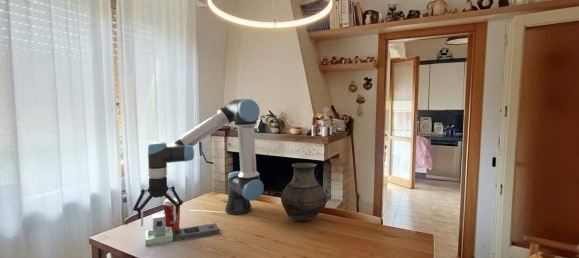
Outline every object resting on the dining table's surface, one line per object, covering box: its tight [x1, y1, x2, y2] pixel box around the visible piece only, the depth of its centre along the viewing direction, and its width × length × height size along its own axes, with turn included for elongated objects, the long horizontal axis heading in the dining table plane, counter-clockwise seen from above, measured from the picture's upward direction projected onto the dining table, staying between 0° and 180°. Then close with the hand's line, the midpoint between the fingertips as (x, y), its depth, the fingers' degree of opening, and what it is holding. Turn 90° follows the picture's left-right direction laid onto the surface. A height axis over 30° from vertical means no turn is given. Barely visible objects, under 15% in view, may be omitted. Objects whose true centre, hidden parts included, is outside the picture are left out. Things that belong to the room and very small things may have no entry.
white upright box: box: [152, 212, 166, 238], centre depth 132 cm, size 5×5×10 cm
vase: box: [280, 162, 328, 222], centre depth 156 cm, size 25×25×30 cm
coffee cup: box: [162, 197, 181, 233], centre depth 142 cm, size 8×8×15 cm
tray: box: [145, 226, 174, 246], centre depth 133 cm, size 11×11×2 cm
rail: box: [172, 222, 220, 242], centre depth 138 cm, size 20×8×2 cm, turn 116°
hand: (158, 222), depth 132 cm, fingers open, 13 cm apart
